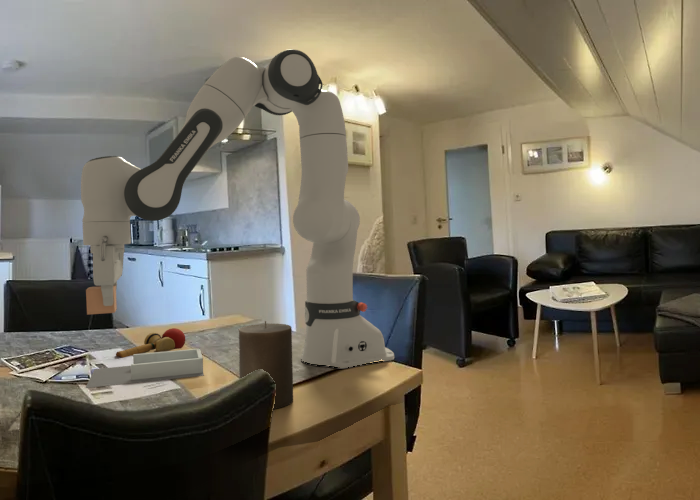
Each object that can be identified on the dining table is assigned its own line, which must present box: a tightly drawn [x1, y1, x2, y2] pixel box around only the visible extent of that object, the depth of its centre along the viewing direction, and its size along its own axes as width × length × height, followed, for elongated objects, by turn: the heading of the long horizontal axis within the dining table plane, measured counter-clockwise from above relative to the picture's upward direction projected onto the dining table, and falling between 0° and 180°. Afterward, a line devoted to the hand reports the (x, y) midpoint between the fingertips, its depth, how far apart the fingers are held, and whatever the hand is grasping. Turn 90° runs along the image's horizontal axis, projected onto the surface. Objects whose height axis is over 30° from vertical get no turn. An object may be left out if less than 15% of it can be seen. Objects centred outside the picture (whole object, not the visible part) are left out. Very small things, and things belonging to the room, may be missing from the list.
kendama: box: [115, 328, 186, 359], centre depth 130 cm, size 8×6×18 cm
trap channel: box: [85, 348, 205, 389], centre depth 110 cm, size 22×14×4 cm, turn 110°
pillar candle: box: [237, 320, 294, 410], centre depth 95 cm, size 10×10×15 cm
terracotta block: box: [85, 286, 118, 315], centre depth 106 cm, size 5×5×5 cm
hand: (110, 303), depth 106 cm, fingers closed on terracotta block, 5 cm apart
